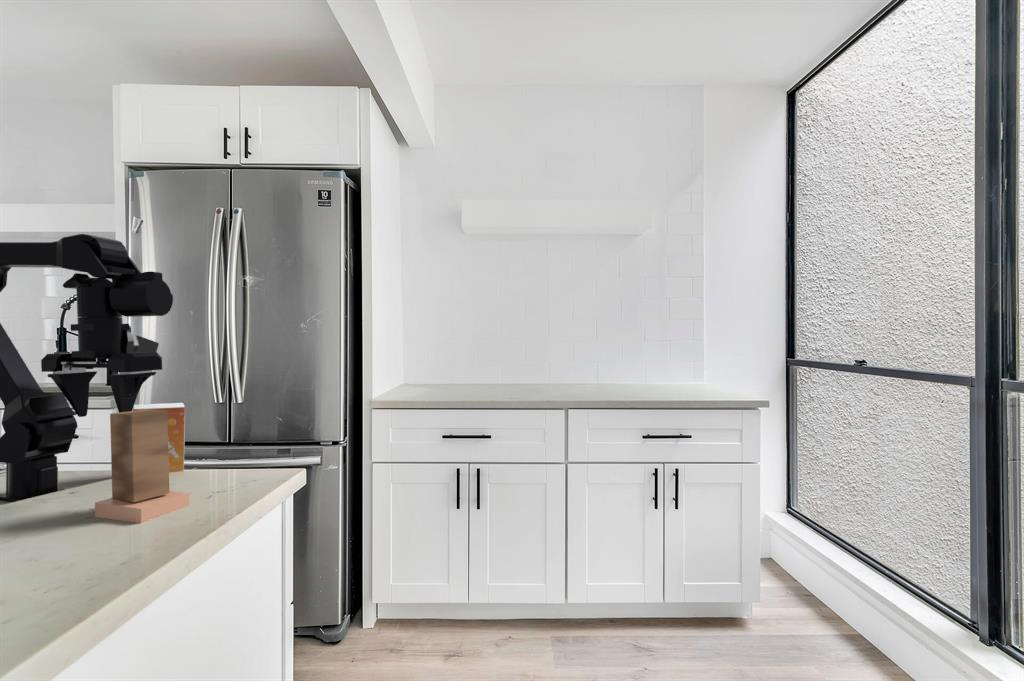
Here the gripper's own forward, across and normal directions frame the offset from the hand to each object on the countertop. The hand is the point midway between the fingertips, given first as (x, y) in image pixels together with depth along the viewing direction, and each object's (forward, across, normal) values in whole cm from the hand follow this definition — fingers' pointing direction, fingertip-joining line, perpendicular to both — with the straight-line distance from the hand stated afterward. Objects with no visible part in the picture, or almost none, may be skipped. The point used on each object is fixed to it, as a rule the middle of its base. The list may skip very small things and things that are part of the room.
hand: (103, 417), depth 90 cm
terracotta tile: (+12, -13, +4) cm, 18 cm away
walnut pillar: (+10, -12, +4) cm, 17 cm away
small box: (+13, +6, -14) cm, 20 cm away
